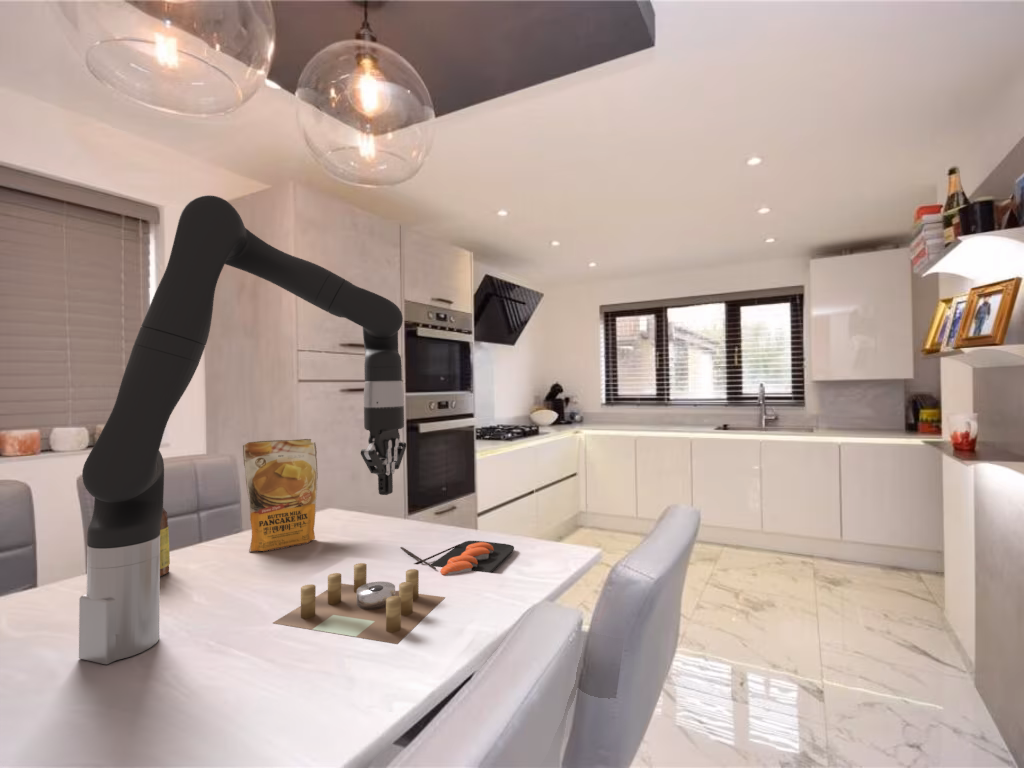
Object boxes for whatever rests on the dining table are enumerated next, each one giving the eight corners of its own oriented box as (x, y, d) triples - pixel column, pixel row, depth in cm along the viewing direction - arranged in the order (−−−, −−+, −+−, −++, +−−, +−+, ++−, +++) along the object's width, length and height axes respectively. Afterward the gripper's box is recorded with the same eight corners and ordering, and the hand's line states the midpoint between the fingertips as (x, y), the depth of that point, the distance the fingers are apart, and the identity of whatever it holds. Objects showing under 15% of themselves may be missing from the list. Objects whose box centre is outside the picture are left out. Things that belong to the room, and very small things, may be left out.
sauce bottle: (164, 568, 113) (165, 482, 114) (173, 574, 109) (174, 485, 110) (129, 576, 108) (130, 486, 109) (137, 583, 104) (138, 490, 105)
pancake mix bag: (239, 549, 127) (240, 441, 127) (315, 535, 139) (315, 437, 139) (244, 556, 122) (245, 443, 122) (322, 541, 134) (323, 438, 134)
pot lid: (382, 612, 88) (382, 597, 88) (348, 607, 90) (348, 593, 90) (401, 596, 94) (401, 583, 94) (370, 592, 96) (370, 579, 96)
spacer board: (397, 653, 77) (397, 611, 77) (272, 631, 83) (272, 593, 84) (445, 605, 94) (445, 571, 94) (338, 590, 101) (338, 558, 101)
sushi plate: (472, 597, 98) (472, 578, 98) (348, 578, 108) (348, 561, 108) (517, 552, 126) (517, 537, 126) (415, 540, 136) (415, 526, 136)
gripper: (381, 406, 87) (383, 503, 87) (417, 403, 100) (419, 487, 100) (346, 406, 90) (348, 500, 89) (385, 403, 102) (387, 486, 102)
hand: (385, 493), depth 95 cm, fingers closed
